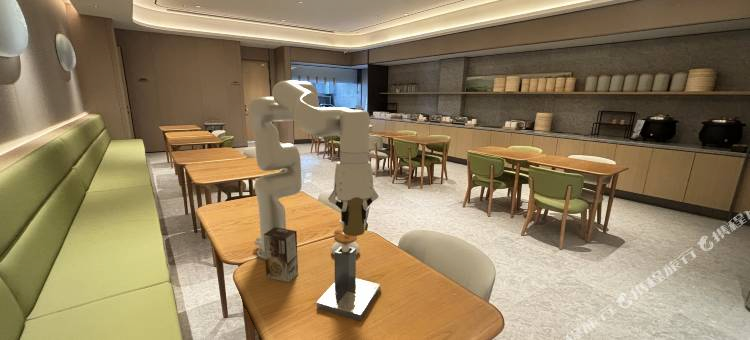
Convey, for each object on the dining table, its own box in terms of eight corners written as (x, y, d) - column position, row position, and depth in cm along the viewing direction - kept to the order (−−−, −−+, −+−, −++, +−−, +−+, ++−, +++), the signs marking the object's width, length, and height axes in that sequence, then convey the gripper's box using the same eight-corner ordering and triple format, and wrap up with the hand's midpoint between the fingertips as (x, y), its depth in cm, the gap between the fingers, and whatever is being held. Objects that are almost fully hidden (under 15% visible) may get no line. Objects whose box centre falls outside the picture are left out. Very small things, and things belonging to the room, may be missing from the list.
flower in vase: (341, 263, 119) (341, 199, 113) (325, 251, 127) (325, 191, 121) (368, 253, 127) (370, 193, 121) (352, 242, 135) (353, 186, 129)
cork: (348, 237, 84) (348, 198, 82) (339, 229, 89) (339, 191, 87) (368, 233, 87) (369, 195, 84) (358, 225, 92) (359, 189, 90)
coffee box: (298, 273, 111) (297, 230, 107) (288, 283, 105) (286, 238, 101) (276, 268, 114) (274, 226, 110) (265, 277, 108) (262, 233, 104)
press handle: (330, 273, 99) (330, 234, 96) (340, 262, 106) (340, 226, 102) (350, 278, 97) (350, 239, 94) (359, 267, 103) (360, 230, 100)
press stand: (316, 307, 94) (316, 265, 90) (341, 279, 108) (342, 242, 105) (360, 321, 89) (361, 276, 85) (380, 289, 103) (381, 250, 100)
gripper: (379, 154, 89) (377, 214, 94) (320, 156, 84) (321, 220, 88) (389, 159, 82) (386, 224, 87) (325, 161, 77) (325, 231, 81)
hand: (353, 222), depth 88 cm, fingers closed on cork, 3 cm apart
